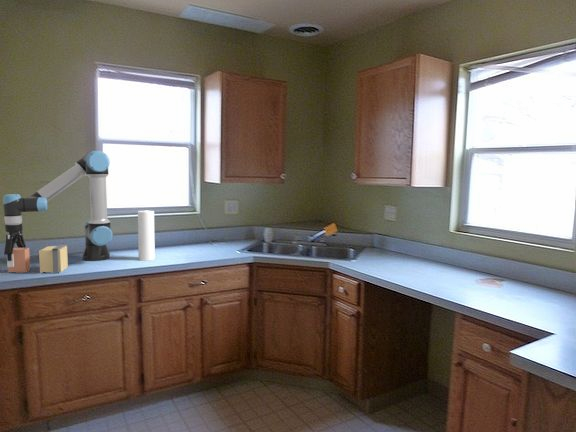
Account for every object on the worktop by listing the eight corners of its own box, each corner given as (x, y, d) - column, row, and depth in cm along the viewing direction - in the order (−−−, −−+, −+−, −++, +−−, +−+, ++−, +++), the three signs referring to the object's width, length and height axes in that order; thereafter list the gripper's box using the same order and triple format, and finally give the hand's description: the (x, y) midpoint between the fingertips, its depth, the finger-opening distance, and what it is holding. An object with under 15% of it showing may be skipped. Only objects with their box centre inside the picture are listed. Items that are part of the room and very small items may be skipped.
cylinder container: (157, 258, 256) (157, 210, 253) (148, 261, 248) (147, 211, 244) (145, 256, 259) (144, 209, 256) (135, 259, 251) (134, 210, 247)
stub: (30, 269, 222) (29, 247, 221) (25, 272, 217) (24, 249, 215) (13, 269, 221) (12, 247, 219) (8, 272, 215) (7, 249, 214)
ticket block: (68, 266, 231) (67, 243, 229) (60, 273, 216) (59, 248, 215) (49, 267, 229) (48, 243, 227) (38, 273, 214) (37, 249, 212)
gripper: (15, 220, 227) (18, 258, 229) (-6, 227, 203) (-3, 269, 205) (30, 220, 228) (33, 258, 231) (11, 227, 204) (14, 269, 207)
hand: (16, 263), depth 218 cm, fingers open, 13 cm apart
